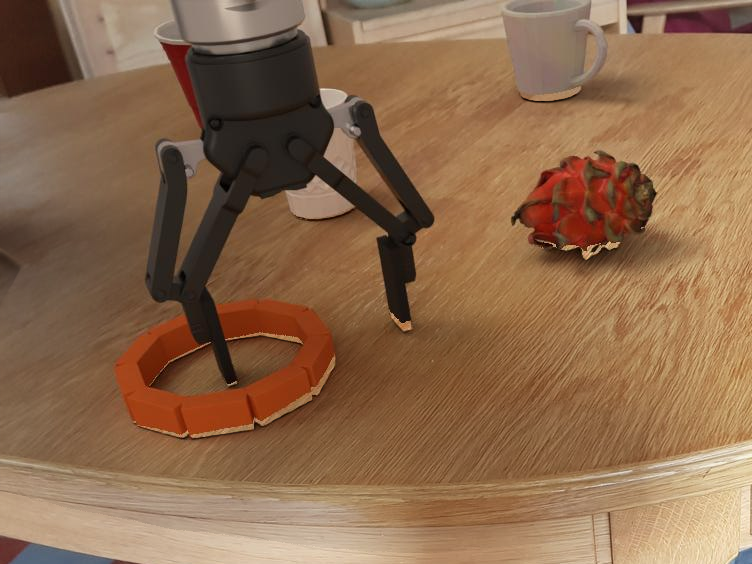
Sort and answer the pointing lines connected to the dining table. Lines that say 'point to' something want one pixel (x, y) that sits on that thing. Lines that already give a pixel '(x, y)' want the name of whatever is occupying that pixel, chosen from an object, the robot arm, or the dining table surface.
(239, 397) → the ring
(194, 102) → the plastic cup
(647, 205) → the dragon fruit
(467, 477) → the dining table surface
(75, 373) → the dining table surface
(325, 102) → the white cup
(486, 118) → the dining table surface
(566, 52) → the mug
